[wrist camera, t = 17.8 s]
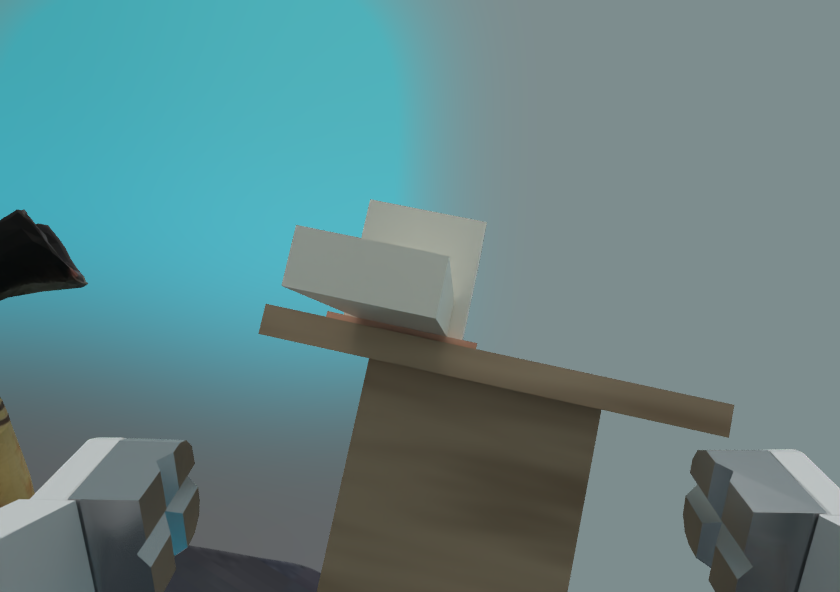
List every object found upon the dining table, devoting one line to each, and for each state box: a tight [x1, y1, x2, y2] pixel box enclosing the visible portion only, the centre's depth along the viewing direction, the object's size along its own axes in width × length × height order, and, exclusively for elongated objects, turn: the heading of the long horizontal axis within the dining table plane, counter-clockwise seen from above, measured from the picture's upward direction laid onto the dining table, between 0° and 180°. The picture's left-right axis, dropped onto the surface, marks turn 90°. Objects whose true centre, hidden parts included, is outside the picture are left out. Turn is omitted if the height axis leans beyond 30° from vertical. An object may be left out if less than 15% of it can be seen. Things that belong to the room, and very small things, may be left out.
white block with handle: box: [282, 200, 487, 340], centre depth 19 cm, size 14×4×4 cm, turn 176°
